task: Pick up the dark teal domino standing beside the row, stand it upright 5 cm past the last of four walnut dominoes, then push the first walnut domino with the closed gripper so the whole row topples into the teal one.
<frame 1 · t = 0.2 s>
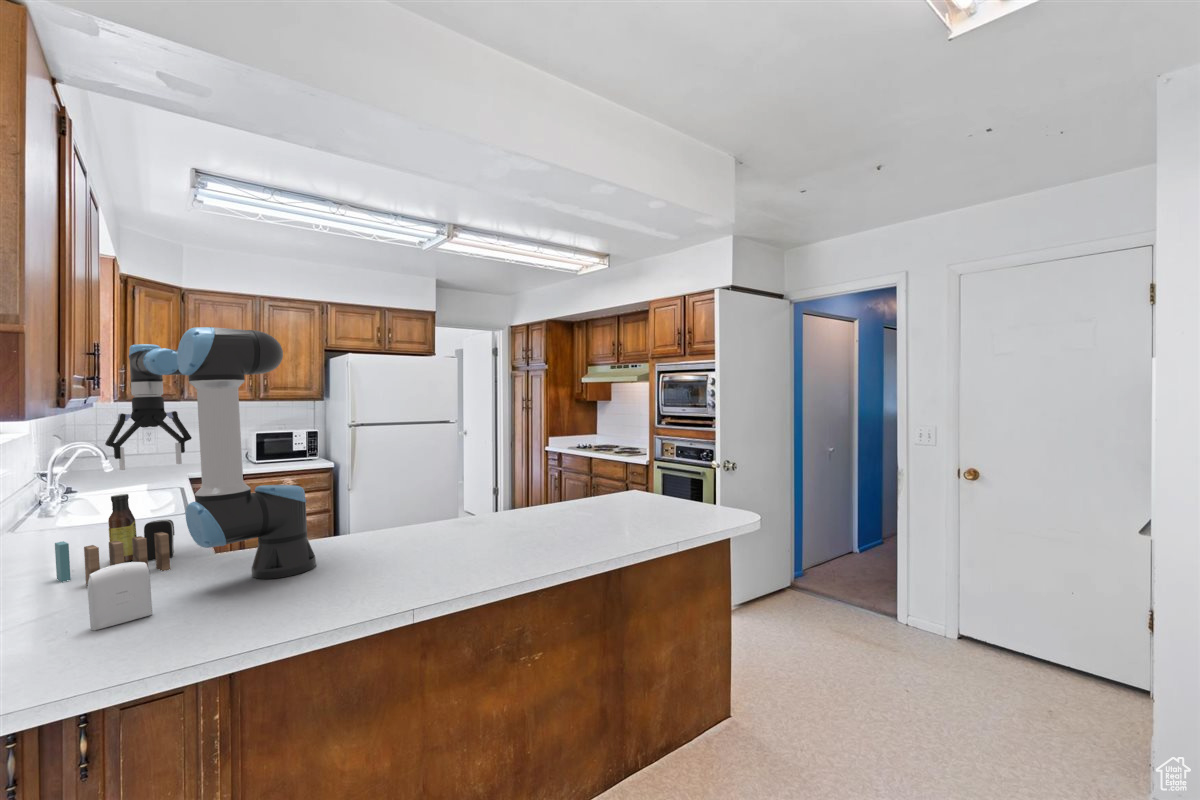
hand: (151, 466, 169), 28 cm above the counter, tool pointing down, fingers open, 13 cm apart
sauce bottle: (124, 561, 169), on the counter
battery charger: (161, 558, 170), on the counter
domino 3: (117, 579, 150), on the counter
photo printer: (122, 622, 120), on the counter
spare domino: (63, 580, 152), on the counter
domino 4: (93, 585, 146), on the counter
domino 2: (141, 574, 154), on the counter
domino 1: (163, 569, 158), on the counter
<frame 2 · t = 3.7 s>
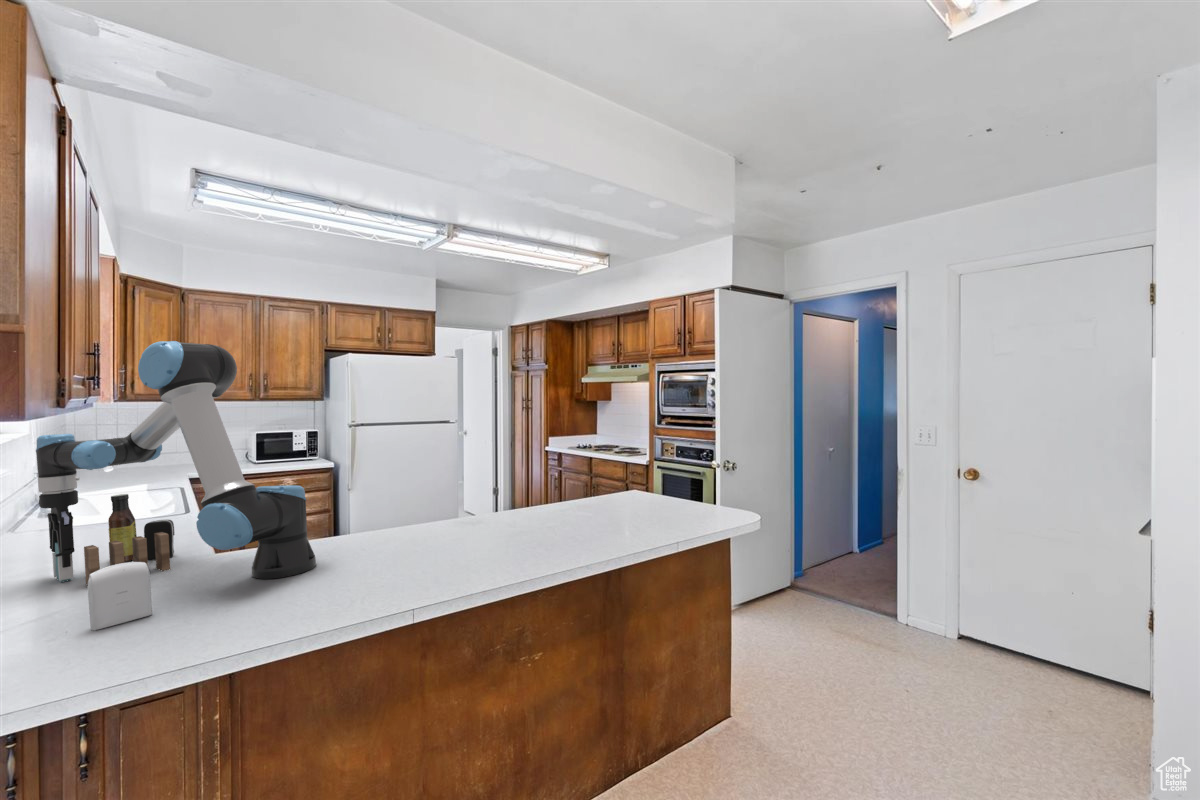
hand: (63, 577, 152), 1 cm above the counter, tool pointing down, fingers closed on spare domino, 5 cm apart
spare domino: (63, 580, 152), on the counter, touching gripper
everything else where it was.
when the fingers open (2 cm above the counter, at t = 11.1 s): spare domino stays where it is, on the counter.
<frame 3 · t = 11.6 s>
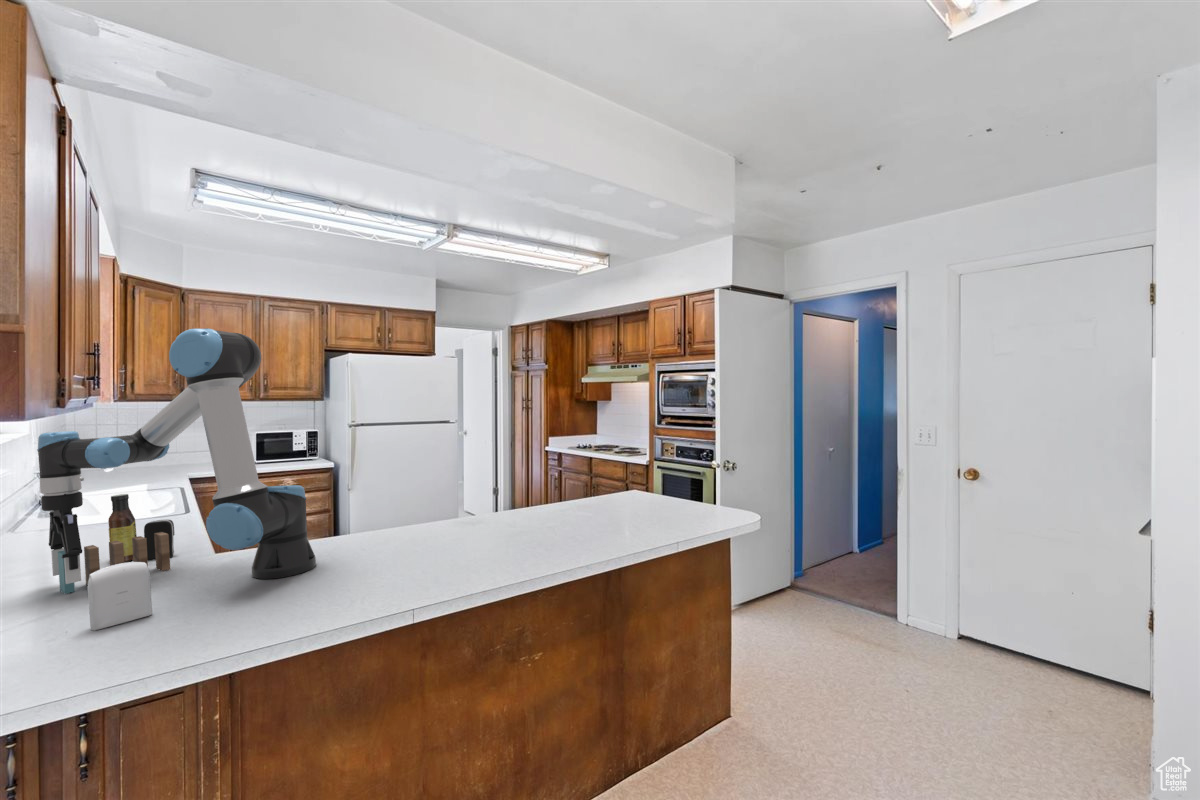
hand: (66, 578, 142), 3 cm above the counter, tool pointing down, fingers open, 12 cm apart
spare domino: (67, 591, 142), on the counter
everything else where it was.
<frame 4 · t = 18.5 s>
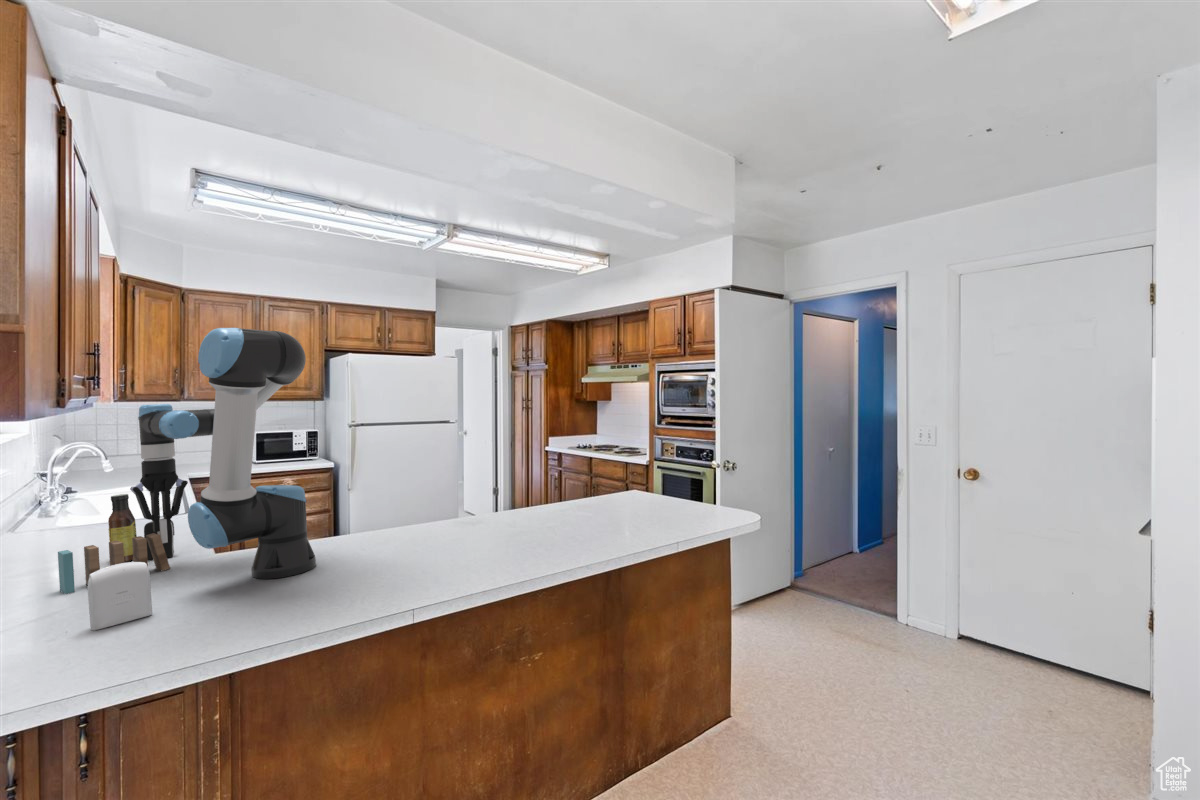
hand: (162, 542, 159), 7 cm above the counter, tool pointing down, fingers closed
domino 1: (163, 568, 158), on the counter, tilted 11°
everything else where it was.
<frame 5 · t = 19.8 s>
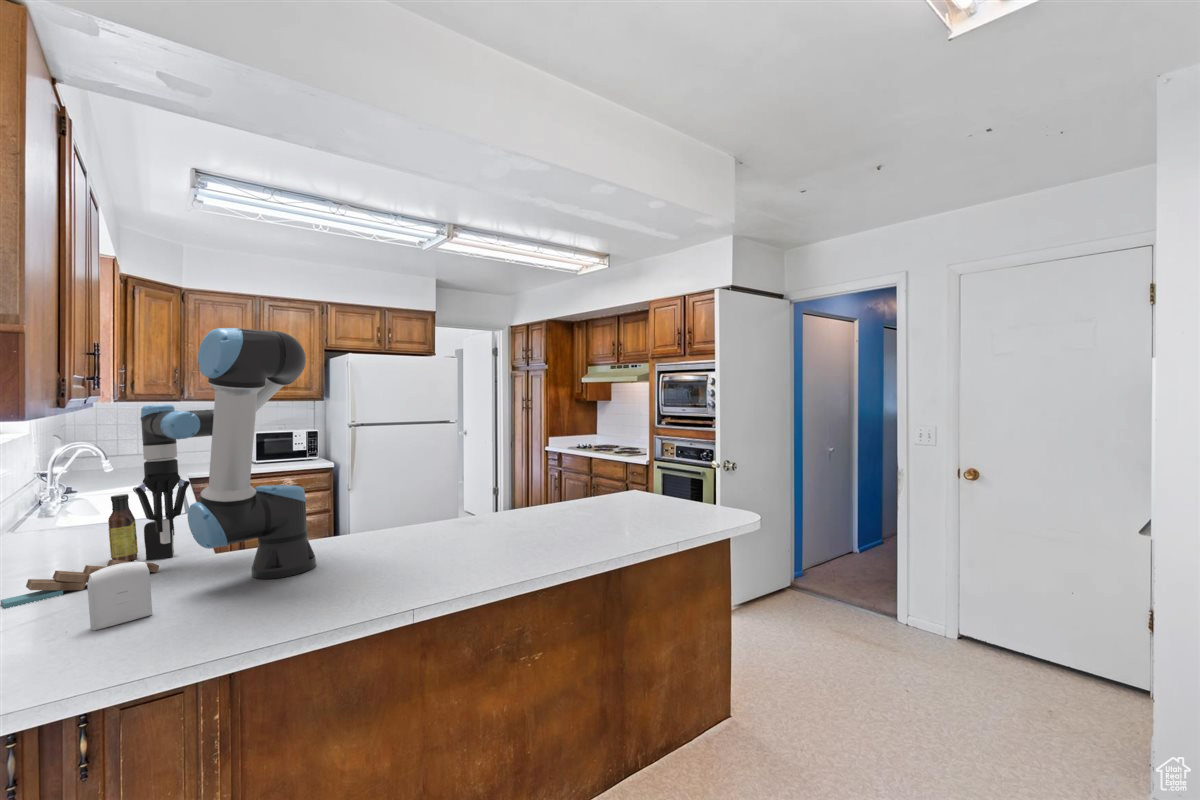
hand: (165, 542, 159), 7 cm above the counter, tool pointing down, fingers closed
domino 3: (105, 578, 148), point 1 cm above the counter, tilted 69°, touching domino 2, domino 4
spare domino: (60, 592, 141), on the counter, tilted 90°, touching domino 4
domino 4: (82, 584, 144), point 1 cm above the counter, tilted 73°, touching domino 3, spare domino
domino 2: (133, 573, 153), point 1 cm above the counter, tilted 70°, touching domino 1, domino 3
domino 1: (155, 567, 157), point 1 cm above the counter, tilted 70°, touching domino 2
everything else where it was.
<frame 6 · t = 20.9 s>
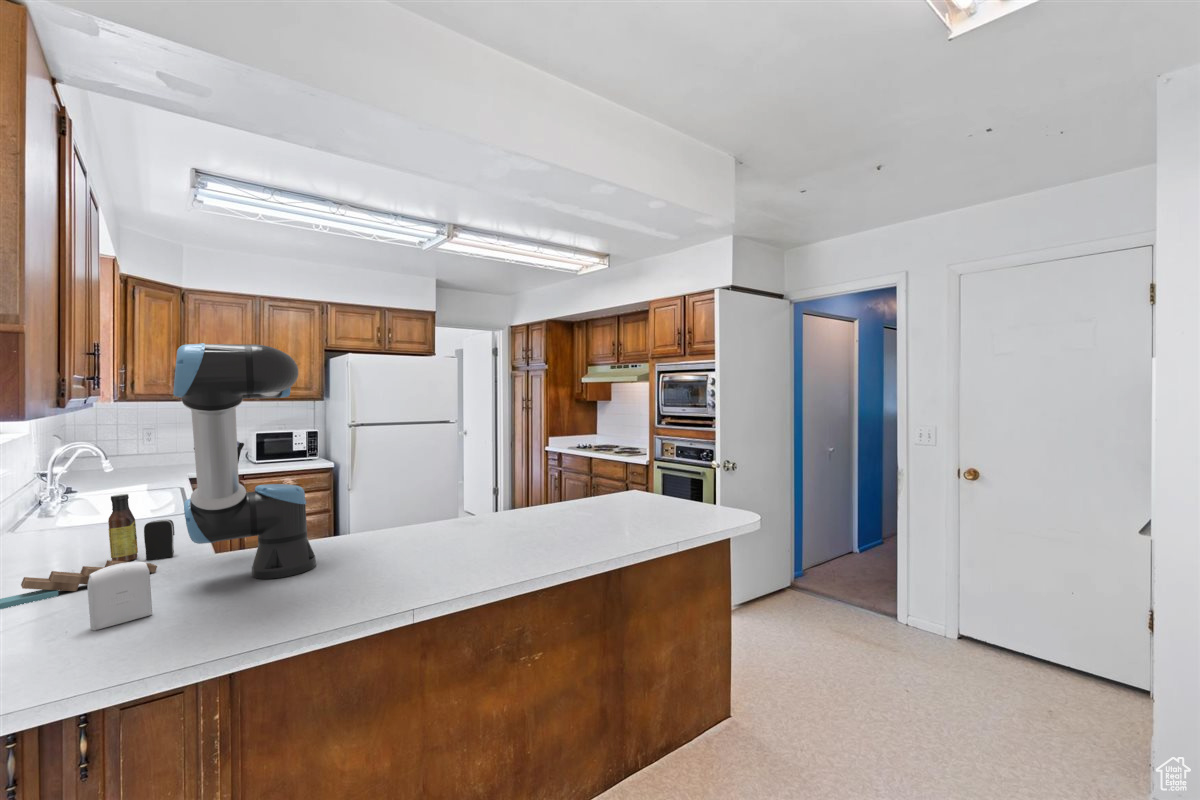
hand: (222, 500, 167), 17 cm above the counter, tool pointing down, fingers closed
domino 3: (101, 580, 147), point 1 cm above the counter, tilted 69°, touching domino 4
domino 4: (76, 585, 144), point 1 cm above the counter, tilted 70°, touching domino 3, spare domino
domino 2: (130, 573, 153), point 1 cm above the counter, tilted 70°, touching domino 1
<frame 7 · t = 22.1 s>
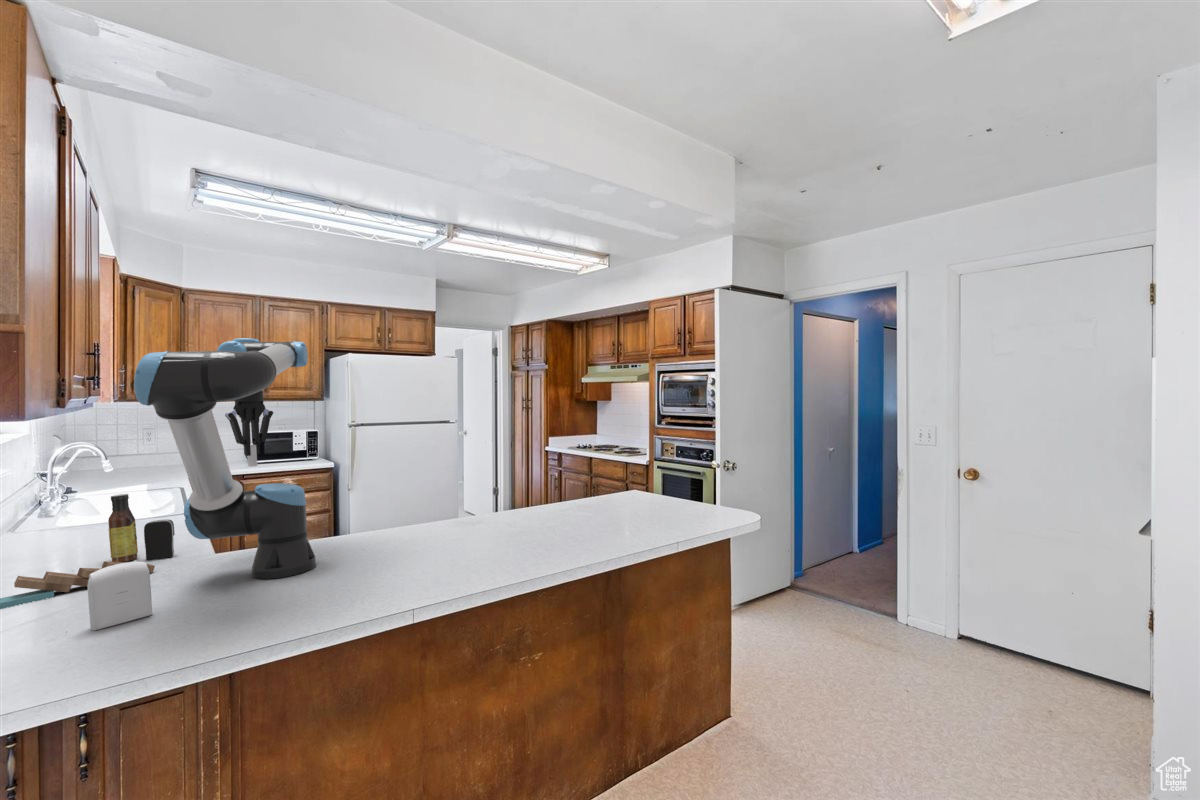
hand: (252, 466, 172), 26 cm above the counter, tool pointing down, fingers closed
domino 3: (96, 581, 146), point 1 cm above the counter, tilted 67°, touching domino 4
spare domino: (52, 593, 140), on the counter, tilted 90°
domino 4: (69, 586, 143), point 1 cm above the counter, tilted 67°, touching domino 3
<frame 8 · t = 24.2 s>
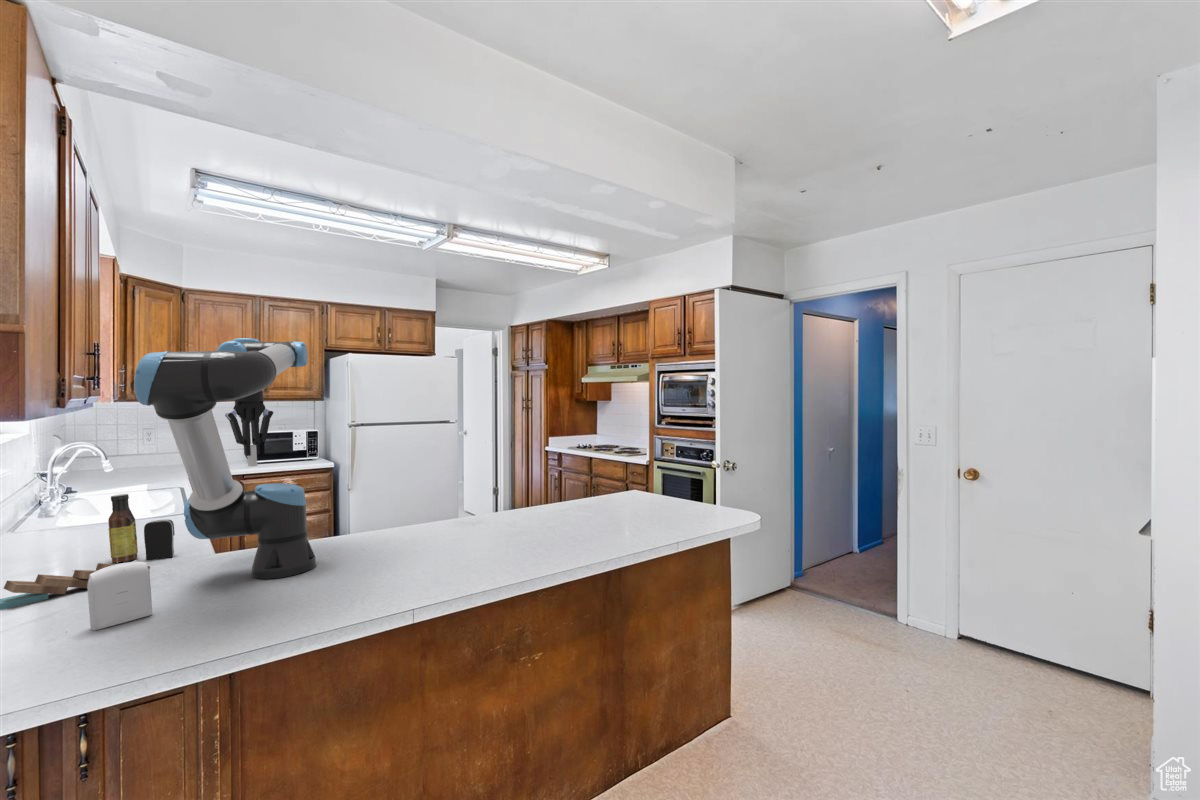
hand: (252, 466, 172), 26 cm above the counter, tool pointing down, fingers closed
domino 3: (89, 582, 145), point 1 cm above the counter, tilted 68°, touching domino 2, domino 4
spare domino: (46, 594, 139), on the counter, tilted 90°
domino 4: (61, 588, 141), point 1 cm above the counter, tilted 69°, touching domino 3
domino 2: (123, 575, 151), point 1 cm above the counter, tilted 71°, touching domino 1, domino 3
domino 1: (143, 569, 156), point 1 cm above the counter, tilted 71°, touching domino 2
everything else where it was.
at the end: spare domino tilted 90°; domino 4 tilted 69°; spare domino inside the target area (2.6 cm from its centre), point 0.5 cm above the counter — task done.
